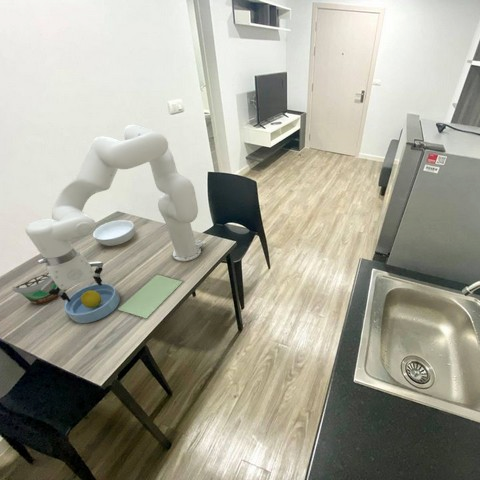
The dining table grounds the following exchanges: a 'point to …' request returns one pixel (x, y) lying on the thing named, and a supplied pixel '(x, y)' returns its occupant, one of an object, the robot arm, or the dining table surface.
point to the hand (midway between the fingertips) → (84, 291)
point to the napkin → (150, 296)
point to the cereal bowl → (114, 232)
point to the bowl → (92, 314)
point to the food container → (37, 290)
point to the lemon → (91, 299)
